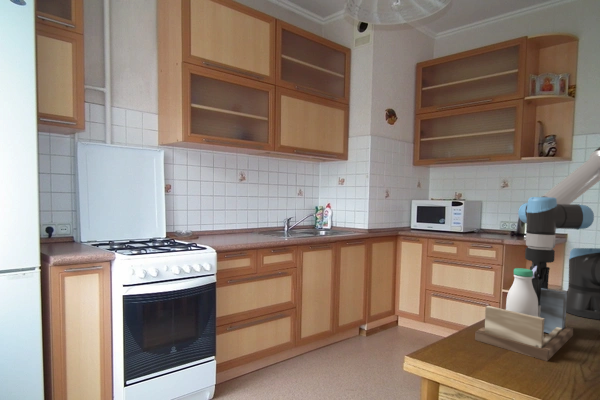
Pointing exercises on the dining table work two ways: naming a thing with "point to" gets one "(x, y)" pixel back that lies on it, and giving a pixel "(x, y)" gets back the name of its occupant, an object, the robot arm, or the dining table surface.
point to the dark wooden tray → (524, 348)
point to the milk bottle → (522, 293)
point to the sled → (530, 320)
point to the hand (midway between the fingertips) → (536, 324)
